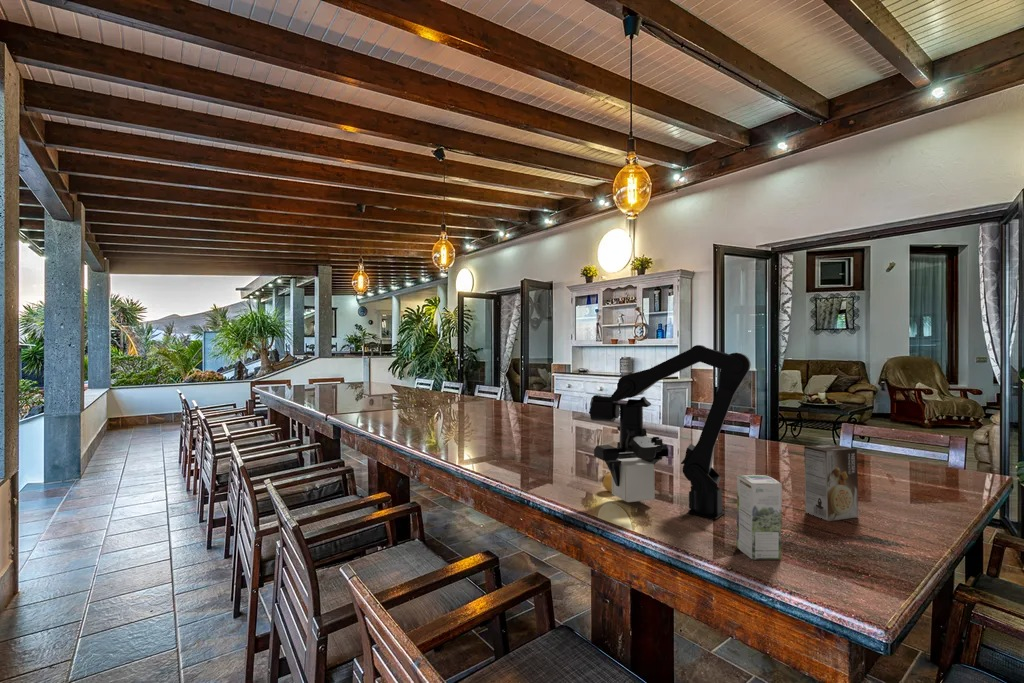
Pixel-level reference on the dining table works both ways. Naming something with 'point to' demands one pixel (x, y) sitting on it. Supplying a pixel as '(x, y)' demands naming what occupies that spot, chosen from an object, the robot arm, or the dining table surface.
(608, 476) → the ball
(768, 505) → the syrup box
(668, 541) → the dining table surface
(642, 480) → the gray cube
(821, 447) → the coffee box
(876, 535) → the dining table surface
